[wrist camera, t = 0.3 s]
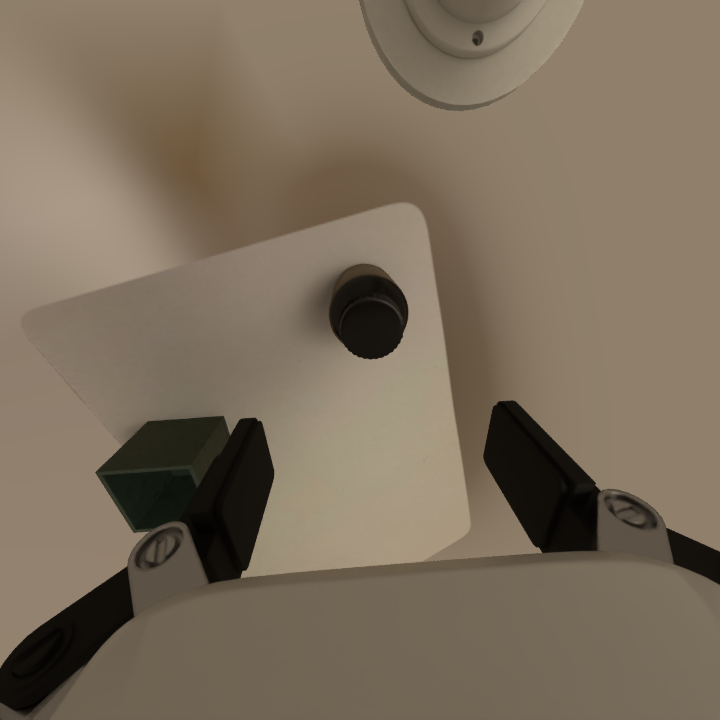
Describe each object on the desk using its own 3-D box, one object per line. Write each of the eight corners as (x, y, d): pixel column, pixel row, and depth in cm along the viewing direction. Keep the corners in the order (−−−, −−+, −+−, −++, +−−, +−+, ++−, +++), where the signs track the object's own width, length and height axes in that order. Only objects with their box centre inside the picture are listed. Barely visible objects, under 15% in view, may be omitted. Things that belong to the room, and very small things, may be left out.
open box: (147, 421, 36) (94, 472, 29) (223, 416, 37) (191, 465, 29) (173, 475, 41) (133, 532, 33) (241, 470, 41) (217, 526, 33)
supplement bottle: (358, 248, 29) (367, 259, 18) (406, 289, 31) (440, 321, 20) (320, 300, 31) (307, 338, 20) (367, 335, 33) (378, 387, 22)
